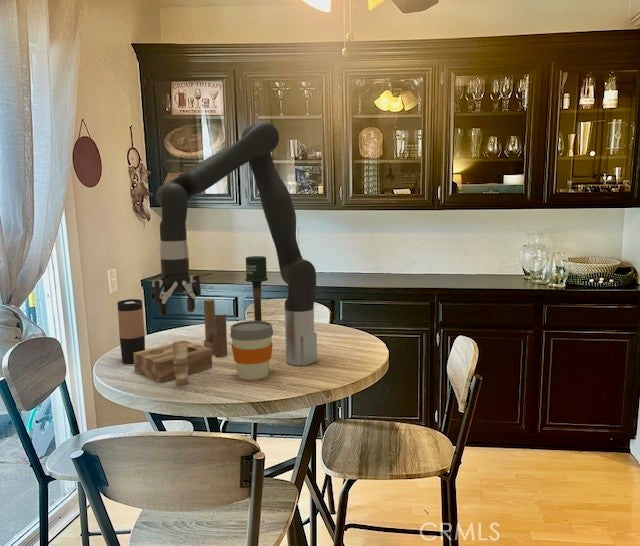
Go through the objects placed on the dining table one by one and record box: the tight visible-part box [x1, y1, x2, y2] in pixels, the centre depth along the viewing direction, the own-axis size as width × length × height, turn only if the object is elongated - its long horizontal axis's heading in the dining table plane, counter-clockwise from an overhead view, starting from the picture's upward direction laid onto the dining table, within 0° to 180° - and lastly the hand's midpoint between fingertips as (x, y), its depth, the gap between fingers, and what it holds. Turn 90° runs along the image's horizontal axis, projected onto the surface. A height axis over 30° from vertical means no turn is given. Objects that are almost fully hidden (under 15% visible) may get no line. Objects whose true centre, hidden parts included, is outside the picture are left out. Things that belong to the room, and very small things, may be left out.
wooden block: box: [203, 298, 228, 358], centre depth 174 cm, size 4×11×18 cm, turn 38°
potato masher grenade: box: [245, 255, 269, 321], centre depth 198 cm, size 8×9×30 cm
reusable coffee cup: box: [229, 320, 274, 381], centre depth 152 cm, size 12×13×15 cm
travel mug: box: [116, 298, 146, 365], centre depth 166 cm, size 8×8×20 cm
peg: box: [171, 340, 189, 386], centre depth 146 cm, size 4×4×12 cm
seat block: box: [133, 340, 213, 384], centre depth 158 cm, size 15×18×6 cm
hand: (177, 314), depth 144 cm, fingers open, 8 cm apart
